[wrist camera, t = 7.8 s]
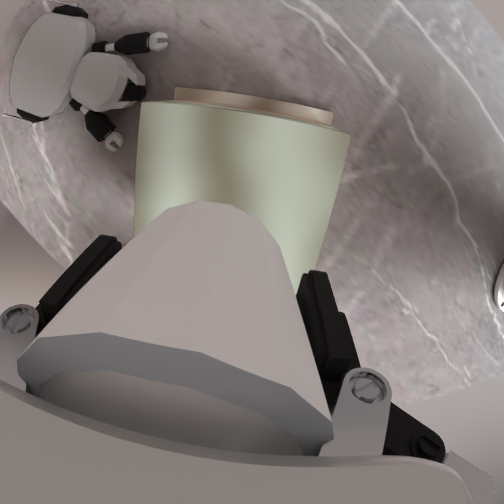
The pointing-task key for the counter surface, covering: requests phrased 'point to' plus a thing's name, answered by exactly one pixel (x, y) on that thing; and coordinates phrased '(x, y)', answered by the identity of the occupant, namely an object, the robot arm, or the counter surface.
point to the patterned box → (243, 165)
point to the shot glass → (189, 340)
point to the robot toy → (77, 71)
